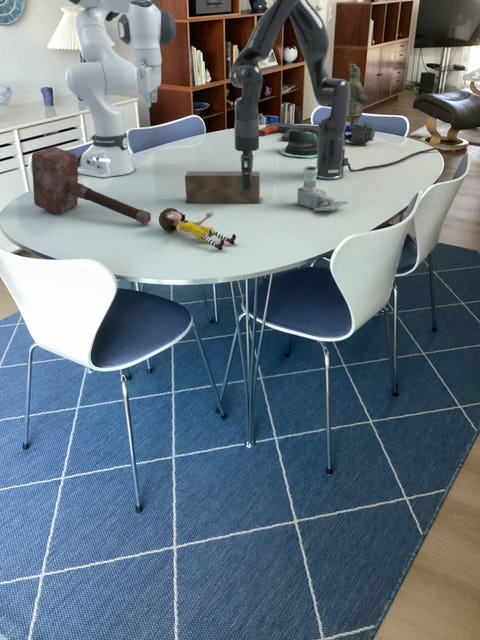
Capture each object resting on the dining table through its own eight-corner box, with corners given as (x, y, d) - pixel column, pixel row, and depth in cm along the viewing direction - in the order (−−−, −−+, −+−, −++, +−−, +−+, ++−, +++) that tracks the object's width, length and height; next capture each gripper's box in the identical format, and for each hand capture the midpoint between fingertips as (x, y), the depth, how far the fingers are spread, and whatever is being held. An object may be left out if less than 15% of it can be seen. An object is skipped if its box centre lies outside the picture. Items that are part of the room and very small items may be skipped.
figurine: (212, 239, 141) (145, 208, 153) (211, 265, 145) (145, 233, 157) (245, 224, 150) (179, 196, 162) (243, 249, 154) (178, 220, 166)
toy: (345, 120, 249) (377, 123, 242) (343, 139, 253) (375, 143, 246) (337, 123, 243) (369, 127, 236) (336, 143, 247) (367, 147, 240)
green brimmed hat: (332, 145, 241) (326, 158, 224) (294, 164, 249) (286, 177, 233) (317, 113, 235) (310, 124, 219) (279, 133, 244) (269, 145, 228)
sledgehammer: (159, 186, 162) (53, 145, 173) (139, 196, 154) (29, 152, 166) (154, 239, 172) (54, 196, 183) (135, 250, 164) (32, 205, 176)
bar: (186, 203, 181) (184, 175, 177) (188, 198, 186) (187, 171, 181) (259, 203, 180) (259, 175, 175) (259, 198, 184) (259, 171, 179)
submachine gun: (248, 131, 260) (271, 121, 279) (248, 137, 261) (271, 127, 280) (310, 137, 246) (331, 126, 265) (310, 144, 248) (330, 132, 266)
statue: (367, 132, 266) (374, 63, 251) (349, 133, 264) (355, 64, 249) (357, 127, 275) (362, 61, 260) (339, 129, 273) (344, 62, 258)
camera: (310, 163, 175) (350, 172, 167) (308, 199, 181) (347, 209, 173) (293, 169, 170) (334, 178, 161) (291, 206, 176) (331, 217, 167)
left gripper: (150, 62, 167) (154, 110, 174) (162, 55, 185) (166, 99, 192) (129, 62, 168) (134, 110, 175) (144, 55, 185) (148, 99, 192)
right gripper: (257, 138, 165) (258, 194, 174) (259, 128, 177) (259, 181, 186) (232, 139, 165) (234, 194, 174) (236, 128, 178) (237, 181, 186)
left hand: (151, 104), depth 184 cm, fingers open, 8 cm apart
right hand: (247, 187), depth 180 cm, fingers closed on bar, 5 cm apart
